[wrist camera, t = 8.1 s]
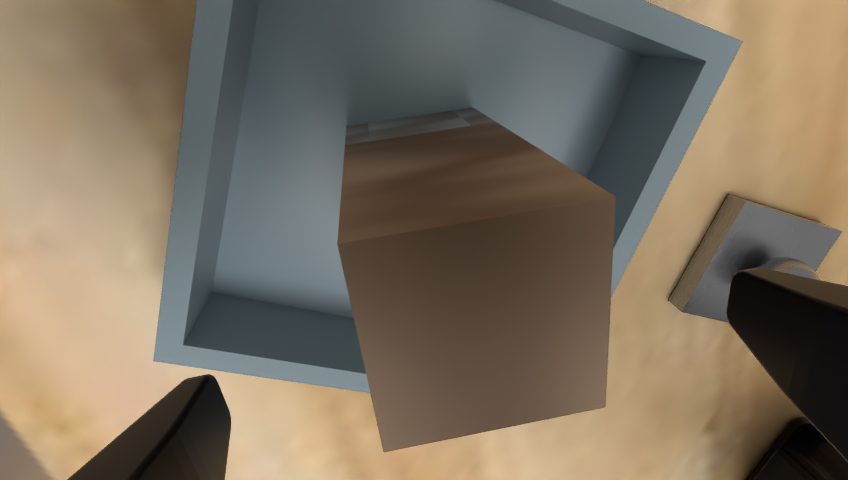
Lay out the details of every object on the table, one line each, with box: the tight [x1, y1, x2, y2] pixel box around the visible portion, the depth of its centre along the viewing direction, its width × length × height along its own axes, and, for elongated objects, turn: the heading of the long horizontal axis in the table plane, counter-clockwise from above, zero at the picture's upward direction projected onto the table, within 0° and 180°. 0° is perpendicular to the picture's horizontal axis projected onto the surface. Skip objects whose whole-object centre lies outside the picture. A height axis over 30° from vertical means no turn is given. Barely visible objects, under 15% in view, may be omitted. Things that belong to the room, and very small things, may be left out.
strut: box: [337, 107, 616, 452], centre depth 13 cm, size 4×4×10 cm
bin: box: [153, 0, 743, 393], centre depth 16 cm, size 14×14×4 cm
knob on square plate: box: [668, 194, 842, 322], centre depth 20 cm, size 5×5×3 cm
